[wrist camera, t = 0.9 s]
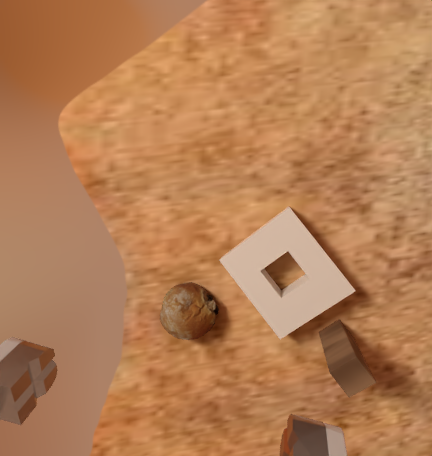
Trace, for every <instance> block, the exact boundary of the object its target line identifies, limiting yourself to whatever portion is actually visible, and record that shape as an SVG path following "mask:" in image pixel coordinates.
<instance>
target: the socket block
mask: <svg viewBox="0 0 432 456" xmlns="http://www.w3.org/2000/svg"><path fill="white" fill-rule="evenodd" d="M287 251H288V252H289V253H290V254H291V256H292V257H293V258H294V259H295V261H296V262H297V263H298V265H299V266H300V267H301V268H302V270H303V271H304V272H305V275H303V276H302V277H300V278H299V279H297V280H296V281H295V282H293V283H292V284H290V285H289V286H287V287H286V288H284V289H283V290H281V289H280V288H279V287H278V286H277V284H276V283H275V282H274V280H273V279H272V278H271V276H270V275H269V274H268V273H267V271H266V270H265V269H264V268H265V267H266V266H268V265H269V264H271V263H272V262H273V261H275V260H276V259H278V258H279V257H280V256H282V255H283V254H285V253H286V252H287ZM219 261H220V262H221V263H222V264H223V266H224V267H225V268H226V270H227V271H228V272H229V274H230V275H231V276H232V277H233V279H234V280H235V281H236V283H237V284H238V285H239V287H240V288H241V289H242V290H243V292H244V293H245V294H246V296H247V297H248V298H249V300H250V301H251V302H252V304H253V305H254V306H255V307H256V309H257V310H258V311H259V313H260V314H261V315H262V317H263V318H264V319H265V320H266V322H267V323H268V324H269V326H270V327H271V328H272V330H273V331H274V332H275V333H276V335H277V336H278V337H279V339H281V338H283V337H284V336H286V335H288V334H289V333H291V332H292V331H294V330H295V329H297V328H299V327H300V326H302V325H303V324H305V323H306V322H308V321H310V320H311V319H313V318H314V317H316V316H317V315H319V314H321V313H322V312H324V311H325V310H327V309H328V308H330V307H332V306H333V305H335V304H336V303H338V302H339V301H341V300H343V299H344V298H346V297H347V296H349V295H350V294H352V293H353V292H355V289H354V288H353V287H352V285H351V284H350V283H349V282H348V280H347V279H346V278H345V276H344V275H343V274H342V273H341V271H340V270H339V269H338V268H337V266H336V265H335V264H334V263H333V261H332V260H331V259H330V258H329V256H328V255H327V254H326V252H325V251H324V250H323V249H322V247H321V246H320V245H319V244H318V242H317V241H316V240H315V239H314V237H313V236H312V235H311V233H310V232H309V231H308V230H307V228H306V227H305V226H304V225H303V223H302V222H301V221H300V220H299V218H298V217H297V216H296V215H295V213H294V212H293V211H292V209H291V208H290V207H289V206H288V207H287V208H286V209H284V210H283V211H282V212H280V213H279V214H278V215H276V216H275V217H274V218H273V219H271V220H270V221H269V222H267V223H266V224H265V225H263V226H262V227H261V228H259V229H258V230H257V231H255V232H254V233H253V234H251V235H250V236H249V237H247V238H246V239H245V240H243V241H242V242H241V243H240V244H238V245H237V246H236V247H234V248H233V249H232V250H230V251H229V252H228V253H226V254H225V255H224V256H223V257H222V258H221V259H220V260H219Z"/></svg>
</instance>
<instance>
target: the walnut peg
mask: <svg viewBox="0 0 432 456" xmlns="http://www.w3.org/2000/svg"><path fill="white" fill-rule="evenodd" d="M319 335H320V338H321V342H322V346H323V349H324V353H325V357H326V361H327V364H328V368H329V372H330V373H331V375H332V376H333V377H334V379H335V380H336V381H337V383H338V384H339V385H340V386H341V388H342V389H343V390H344V392H345V393H346V394H347V396H348V397H351V396H353V395H355V394H357V393H358V392H360V391H362V390H364V389H366V388H368V387H369V386H371V385H373V384H375V383H376V381H375V379H374V377H373V375H372V373H371V371H370V369H369V367H368V365H367V363H366V361H365V359H364V357H363V355H362V353H361V351H360V349H359V347H358V345H357V343H356V341H355V339H354V338H353V337H352V335H351V334H350V333H349V332H348V330H347V329H346V328H345V326H344V325H343V324H342V323H341V321H340V320H338V321H336V322H334V323H333V324H331V325H330V326H328V327H326V328H325V329H323V330H322V331H320V332H319Z"/></svg>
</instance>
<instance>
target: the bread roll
mask: <svg viewBox="0 0 432 456" xmlns="http://www.w3.org/2000/svg"><path fill="white" fill-rule="evenodd" d="M218 311H219V309H218V307H217V306H216V304H215V302H214V300H212V297H211V296H210V295H208V293H207V292H206V290H205V289H203V288H202V287H200V285H197V284H195V283H192V282H190V283H184V284H180V285H176V286H174V287H173V288H171V289H170V291H169V292H168V293H167V294H166V296H165V297H164V301H163V305H162V309H161V313H160V320H161V323H162V325H163V327H164V328H165V329H166V331H167V332H168V333H169V334H171V335H173V336H174V337H176V338H178V339H186V340H190V339H195V338H198V337H200V336H202V335H204V334H205V333H207V332H208V331H209V330H210V329H211V328H212V326H213V325H214V324H215V319H216V315H217V314H218Z"/></svg>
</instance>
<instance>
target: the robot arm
mask: <svg viewBox="0 0 432 456" xmlns="http://www.w3.org/2000/svg"><path fill="white" fill-rule="evenodd" d="M54 356H55V353H54V349H51V348H48V347H45V346H41V345H38V344H34V343H31V342H27V341H24V340H21V339H17V338H14V337H11V338H10V339H7V340H5V341H4V342H3V343H2V344H1V345H0V419H1V420H4V421H8V422H11V423H15V424H19V425H21V424H22V423H23V422H24V421H25V419H26V418H27V417H28V416H29V414H30V413H31V412H32V410H33V409H34V408H35V407H36V404H37V398H38V397H40V396H42V395H44V394H46V392H47V391H48V390H49V388H50V387H51V386H52V384H53V382H54V380H55V378H56V375H57V365H56V363H55V362H54V361H53V360H52V359H53V357H54ZM280 456H347V451H346V445H345V439H344V433H343V431H342V429H341V428H340V427H338V426H334V425H330V424H326V423H323V422H321V421H317V420H313V419H309V418H305V417H301V416H297V415H293V414H290V415H289V418H288V420H287V428H286V429H284V431H283V435H282V439H281V445H280Z"/></svg>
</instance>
